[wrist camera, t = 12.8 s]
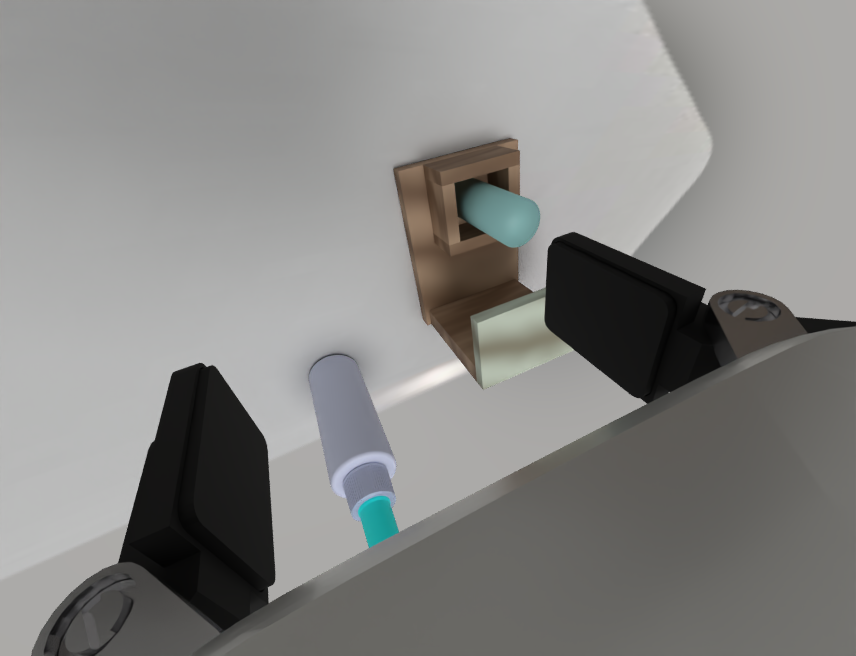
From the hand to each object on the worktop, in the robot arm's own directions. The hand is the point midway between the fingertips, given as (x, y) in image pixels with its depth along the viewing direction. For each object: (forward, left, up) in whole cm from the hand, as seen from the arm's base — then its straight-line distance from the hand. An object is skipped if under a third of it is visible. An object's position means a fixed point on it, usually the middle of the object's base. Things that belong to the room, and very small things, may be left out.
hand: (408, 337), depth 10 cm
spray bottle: (+23, -4, -28) cm, 37 cm away
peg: (+6, +15, -27) cm, 31 cm away
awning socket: (+11, +15, -28) cm, 34 cm away
